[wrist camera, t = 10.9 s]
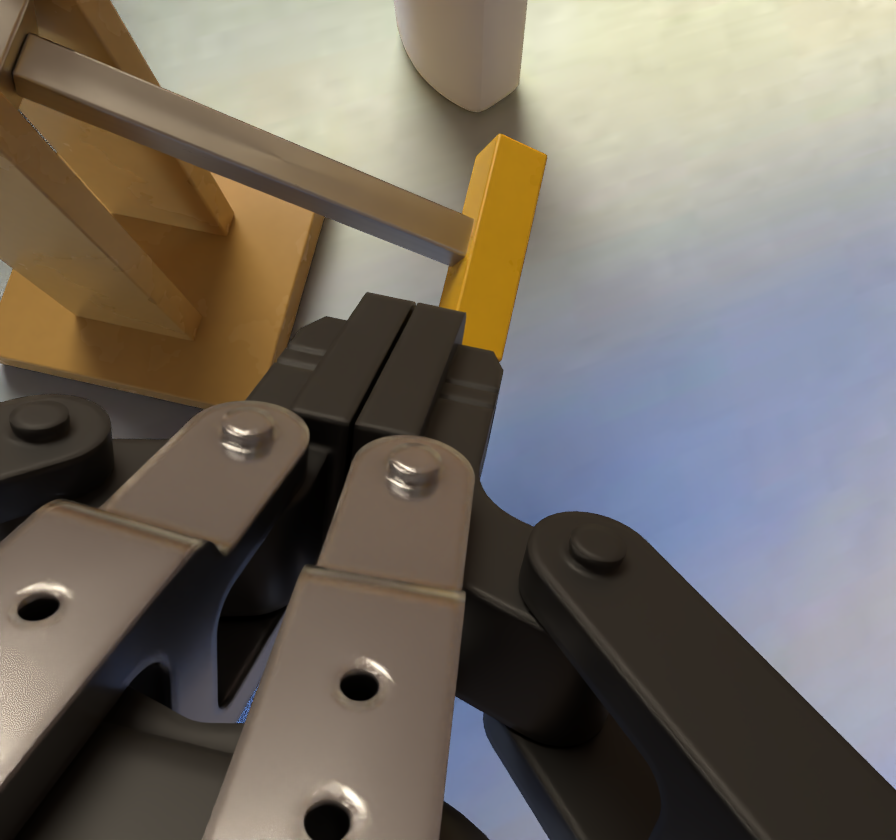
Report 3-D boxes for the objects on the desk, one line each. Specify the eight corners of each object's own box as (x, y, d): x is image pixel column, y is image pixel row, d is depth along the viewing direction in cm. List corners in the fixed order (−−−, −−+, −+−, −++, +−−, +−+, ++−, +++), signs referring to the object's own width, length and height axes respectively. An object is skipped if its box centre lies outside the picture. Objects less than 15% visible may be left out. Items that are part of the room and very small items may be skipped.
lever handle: (515, 182, 24) (557, 147, 21) (470, 375, 22) (510, 359, 20) (-61, -75, 18) (-84, -157, 16) (-162, 155, 17) (-203, 101, 15)
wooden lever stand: (331, 196, 30) (209, -175, 16) (265, 423, 28) (60, 232, 14) (81, 146, 31) (-250, -253, 17) (1, 363, 29) (-453, 125, 15)
